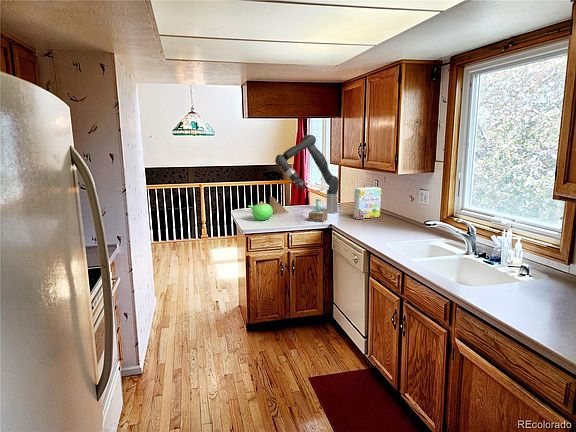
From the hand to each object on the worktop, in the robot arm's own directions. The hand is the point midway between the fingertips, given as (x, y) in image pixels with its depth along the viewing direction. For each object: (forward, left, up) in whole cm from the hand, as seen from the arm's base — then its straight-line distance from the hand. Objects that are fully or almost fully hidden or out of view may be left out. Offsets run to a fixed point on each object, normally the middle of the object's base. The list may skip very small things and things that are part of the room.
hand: (305, 189), depth 325 cm
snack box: (-51, +13, -25) cm, 58 cm away
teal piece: (-9, +8, -19) cm, 22 cm away
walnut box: (-9, +8, -25) cm, 28 cm away
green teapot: (+34, -9, -25) cm, 44 cm away
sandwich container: (+12, -34, -25) cm, 44 cm away
